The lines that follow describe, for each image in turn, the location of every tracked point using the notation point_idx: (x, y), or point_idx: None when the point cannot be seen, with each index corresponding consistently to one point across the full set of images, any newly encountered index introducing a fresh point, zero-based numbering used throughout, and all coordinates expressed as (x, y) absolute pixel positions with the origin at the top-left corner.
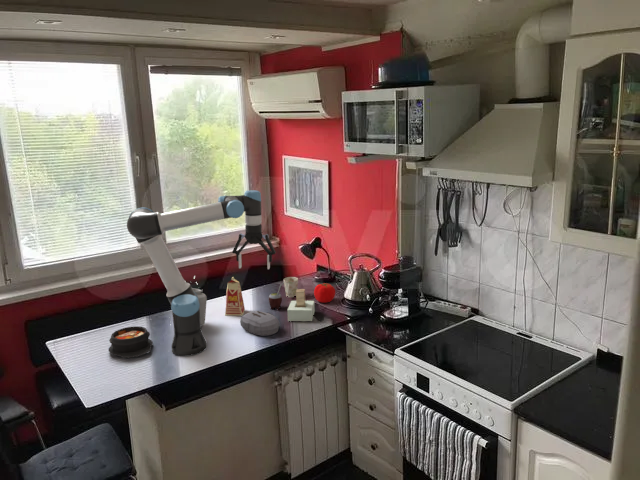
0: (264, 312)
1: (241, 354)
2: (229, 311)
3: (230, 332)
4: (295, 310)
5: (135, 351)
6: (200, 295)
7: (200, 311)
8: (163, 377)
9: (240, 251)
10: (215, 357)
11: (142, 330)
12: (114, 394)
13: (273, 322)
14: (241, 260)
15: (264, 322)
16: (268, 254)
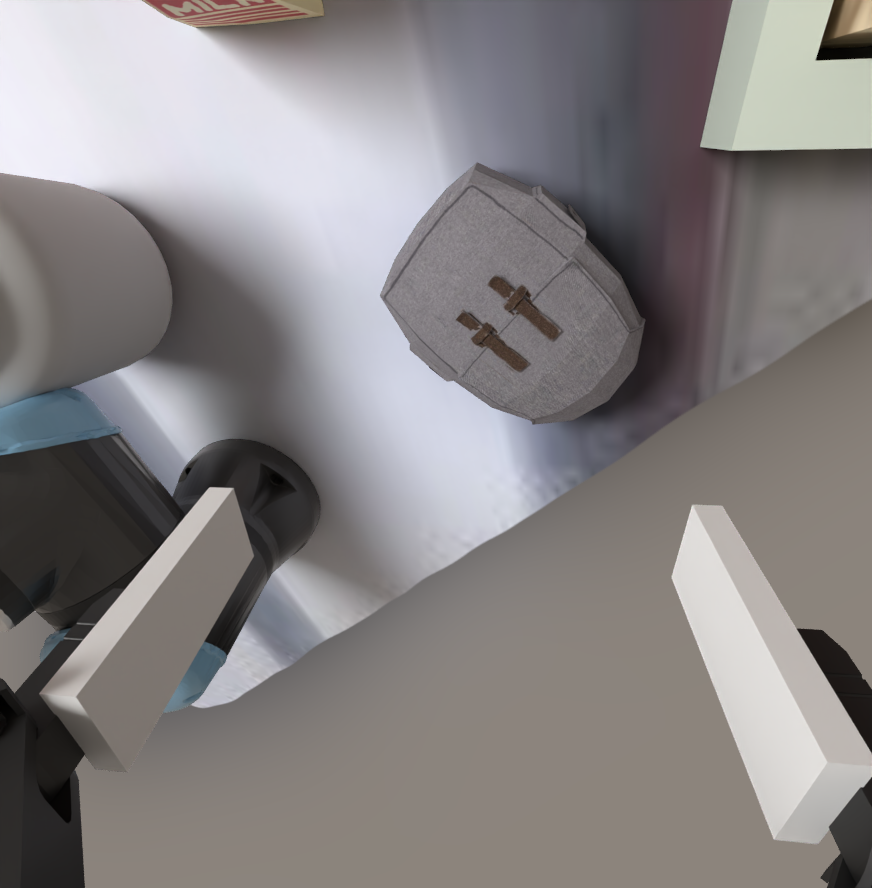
0: (537, 242)
1: (475, 547)
2: (213, 22)
3: (355, 339)
4: (808, 148)
5: None
6: (20, 342)
7: (121, 342)
8: (286, 644)
9: (77, 872)
10: (385, 559)
11: None
12: (221, 690)
13: (611, 387)
14: (174, 570)
15: (556, 413)
16: (830, 880)
